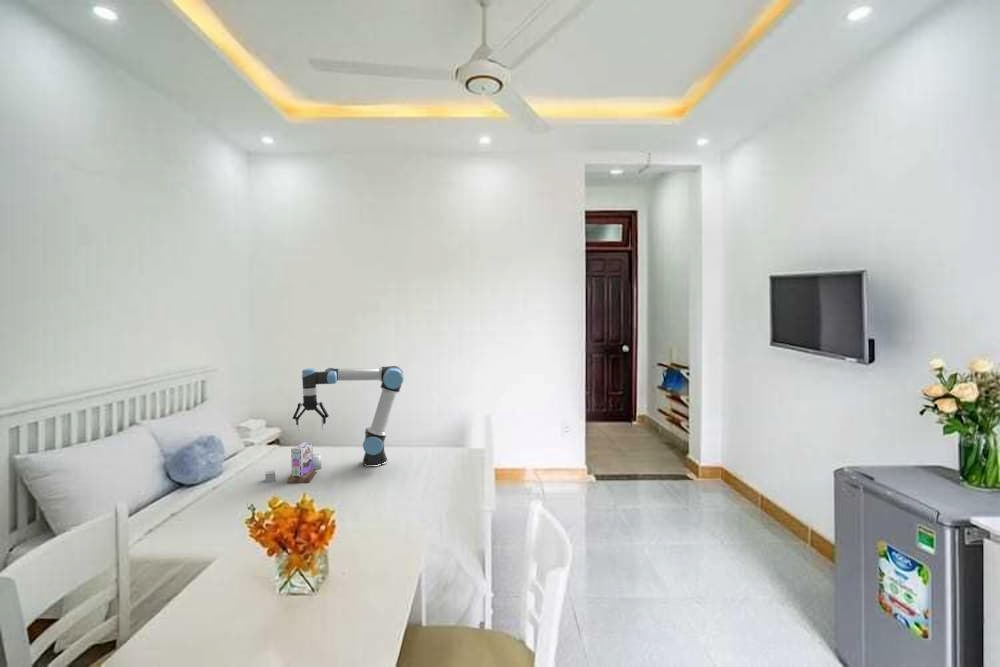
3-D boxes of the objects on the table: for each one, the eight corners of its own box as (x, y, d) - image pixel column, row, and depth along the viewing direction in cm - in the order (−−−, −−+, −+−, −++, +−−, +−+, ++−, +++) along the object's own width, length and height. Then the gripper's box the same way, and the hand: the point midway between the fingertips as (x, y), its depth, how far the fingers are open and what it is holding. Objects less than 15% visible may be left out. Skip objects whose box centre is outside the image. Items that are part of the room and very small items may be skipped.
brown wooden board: (316, 472, 306) (316, 467, 306) (308, 482, 289) (308, 477, 289) (296, 473, 305) (296, 468, 305) (286, 483, 288) (286, 478, 288)
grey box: (275, 478, 296) (274, 470, 296) (275, 481, 292) (274, 473, 291) (265, 480, 294) (265, 471, 294) (265, 482, 289) (265, 474, 289)
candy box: (300, 477, 290) (300, 449, 289) (291, 476, 291) (290, 448, 290) (313, 469, 303) (312, 442, 302) (304, 468, 304) (303, 441, 303)
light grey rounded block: (322, 466, 318) (322, 453, 318) (319, 470, 311) (319, 457, 311) (311, 466, 318) (310, 454, 317) (307, 470, 311) (307, 457, 310)
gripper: (332, 392, 308) (334, 427, 309) (289, 394, 305) (291, 429, 306) (330, 394, 300) (331, 430, 302) (286, 396, 297) (287, 432, 299)
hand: (311, 429), depth 304 cm, fingers open, 13 cm apart
